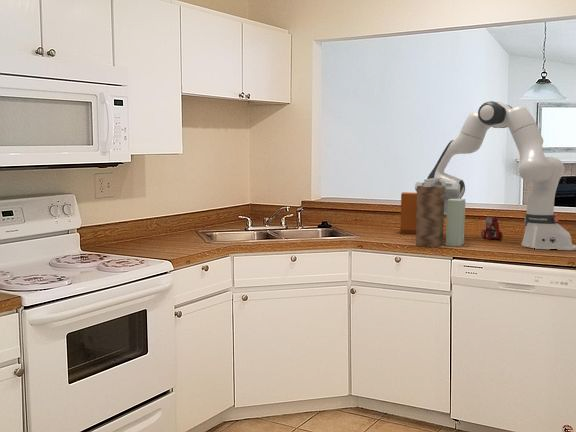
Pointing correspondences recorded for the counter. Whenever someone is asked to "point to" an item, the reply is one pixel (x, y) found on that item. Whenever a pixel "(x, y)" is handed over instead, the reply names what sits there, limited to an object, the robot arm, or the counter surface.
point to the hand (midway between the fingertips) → (434, 180)
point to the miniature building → (408, 213)
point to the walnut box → (430, 216)
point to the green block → (455, 222)
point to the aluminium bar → (431, 182)
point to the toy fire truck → (491, 229)
